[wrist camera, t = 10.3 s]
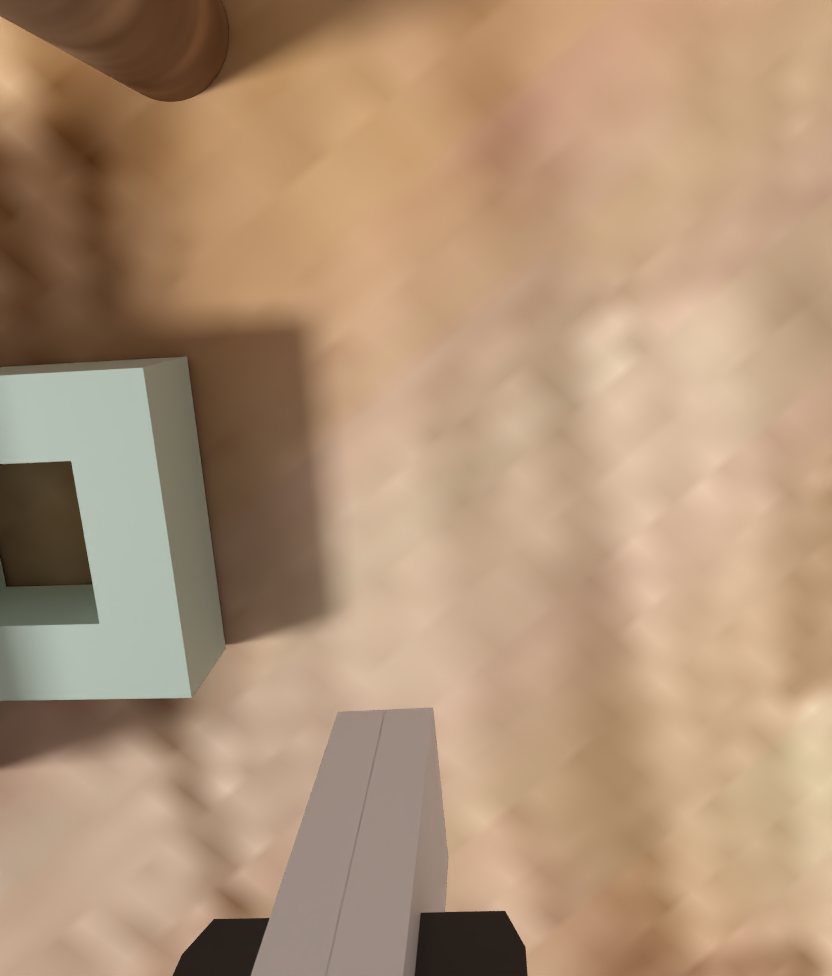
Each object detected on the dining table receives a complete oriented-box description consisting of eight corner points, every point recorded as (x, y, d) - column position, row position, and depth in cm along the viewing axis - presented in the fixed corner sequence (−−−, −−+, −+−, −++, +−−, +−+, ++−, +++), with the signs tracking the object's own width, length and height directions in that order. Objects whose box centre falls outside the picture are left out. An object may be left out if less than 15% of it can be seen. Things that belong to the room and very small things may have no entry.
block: (186, 356, 30) (143, 367, 26) (225, 648, 33) (191, 697, 29) (-111, 373, 31) (-196, 386, 27) (-47, 654, 34) (-115, 702, 30)
